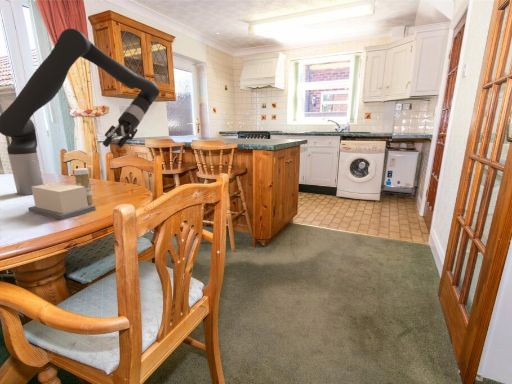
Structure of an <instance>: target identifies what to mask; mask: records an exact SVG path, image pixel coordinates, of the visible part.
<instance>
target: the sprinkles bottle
mask: <svg viewBox="0 0 512 384" xmlns="http://www.w3.org/2000/svg"><path fill="white" fill-rule="evenodd" d="M89 172H90V171H89V168H86V167H85V168H84V167H81V168H74V169H73V174H74V179H75V185H78V186H84V187H85V190H86V197H87V203H88V205H91V204H93V203H94V200H93V193H92V187H91V182H90V175H89Z"/></svg>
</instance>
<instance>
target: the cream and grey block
mask: <svg viewBox="0 0 512 384" xmlns="http://www.w3.org/2000/svg"><path fill="white" fill-rule="evenodd" d="M32 192H33V194H32V196H33V200H34V206H33V205H32V206H29V207H28V208H27V209H28V212H29V213H33V214H37V215H41V216H45V217H49V218H52V219H56V220H60V221H64V220H68V219H71V218H75V217H76V216H78V217H79V216H81V215H85V214H87V213H92V212H94V211H96V210H97V209H96V206H95V205H91V204H88V203H87V197H86V190H85V187H84V186H78V185H76V184H70V183H64V182H59V181H58V182H57V181H56V182H50V183H45V184H44V183H43V185H38V186H33V187H32Z"/></svg>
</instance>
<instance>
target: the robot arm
mask: <svg viewBox="0 0 512 384" xmlns="http://www.w3.org/2000/svg"><path fill="white" fill-rule="evenodd" d="M79 58H83V59H84V60H87V61H89V62H91V63H92V64H94V65H95V66H97V67H99V68H100V69H101V70H103V71H104V72H105V73H106V74H108V75H109V76H111V77H112V78H113V79H115V80H116V81H118V82H119V83H121V84H122V85H123V86H126V87H127V88H128V89H131V90H134V89H138V90H140V91H139V93H138V94H137V96H136V97H135V98H134V99H133V100H132V101H131V103H130V104H129V105H128V106H127V107H126V109H124V111H123V113H122V114H121V115H120V116H119V118H118V119H117V122H118V124H117V125H116V126H115V125H111V126H110V127H109V128H108V130H107V131H106V132H105V133H104V137H106V138H105V139H104V140H103V142H102V145H103V146H104V147H107V148H108V147H109V146H110V144H111V143H112V142H113V141H114V140H115V139H118V138H120V139H119V140H118V142H117V143H116V146H117V147H118V148H121V149H122V148H123V146H124V145H125V144H126V142H128V141H132V140H133V139H134V138H135V136H136V134H137V133H138V131H139V130H138V129H137V128H138V126H139V125H140V124H141V122H142V120H143V119H144V117H145V115H146V114H147V112H148V111H149V109H150V106H152V104H153V103H154V101H155V100H156V99H157V98H158V96H159V95H160V88H159V86H158V85H157V84H156V83H155V82H153V81H152V80H150V79H148V78H145V77H143V76H141V75H138V74H137V73H135V72H134V71H132V70H131V69H130V68H129V67H127V66H125V65H123V64H122V63H120V62H119V61H117V60H115V59H114V58H113V57H111V56H109V55H108V54H107V53H105V52H103V51H102V50H101V49H100V48H98V47H97V46H96V45H95V44H94V43H93V42H92V41H90V39H88V37H87V36H86V35H85V34H84V33H83V32H81V31H80V30H78V29H76V28H72V27H71V28H66V29H64V30H62V32H61V33H60V35H59V36H58V39H57V41H56V43H55V45H54V46H53V48H52V50H51V51H50V53H49V55H48V56H47V57H45V59H44V60H43V61H42V62H41V63H40V65H39V66H38V67H37V69H36V70H35V71H34V72H33V74H32V75H31V77H30V78H29V79H28V81H27V82H26V83H25V84H24V87H23V88H22V90H21V91H20V92H19V94H18V95H17V96H16V98H15V99H14V101H12V103H11V104H10V105H9V106H8V107H7V108H6V109H5V110H4V111H3V112H2V113H1V114H0V134H1V135H2V136H5V137H8V138H11V139H10V140H11V141H10V144H9V145H8V146H7V148H6V151H7V155H8V159H9V163H10V167H11V171H12V176H13V180H14V184H15V189H16V193H17V195H19V196H26V195H33V192H32V187H33V186H38V185H44V180H43V177H42V176H43V175H42V171H41V166H40V160H39V156H38V151H37V149H38V139H37V138H38V137H37V133H36V126H35V124H34V122H33V120H32V119H31V118H32V116H34V114H35V113H36V112H37V111H38V110H40V109H41V108H43V107H45V106H46V105H47V104H48V103H50V102H51V101H52V100H53V99H54V97H56V95H57V94H58V93H59V91H60V90H61V89H62V87H63V85H64V83H65V81H66V79H67V76H68V74H69V71H70V69H71V68H72V66H73V65H74V64H75V62H77V60H78V59H79Z"/></svg>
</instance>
